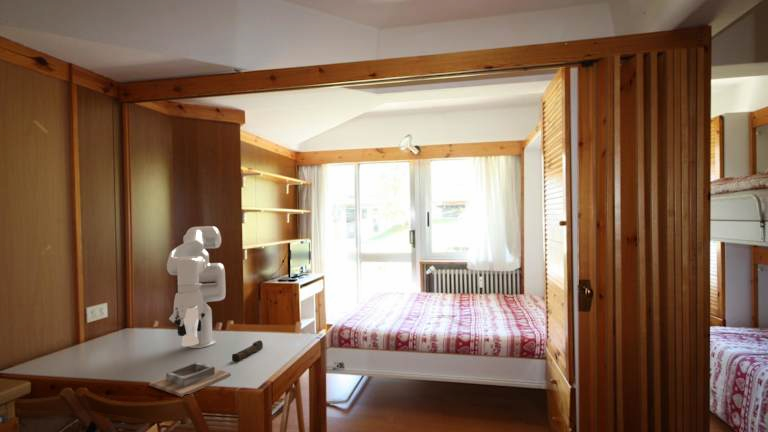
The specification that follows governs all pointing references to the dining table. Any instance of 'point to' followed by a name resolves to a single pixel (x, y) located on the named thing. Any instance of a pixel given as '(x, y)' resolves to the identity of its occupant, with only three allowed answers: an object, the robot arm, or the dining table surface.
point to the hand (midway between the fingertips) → (189, 332)
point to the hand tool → (247, 351)
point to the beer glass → (190, 327)
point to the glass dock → (189, 379)
